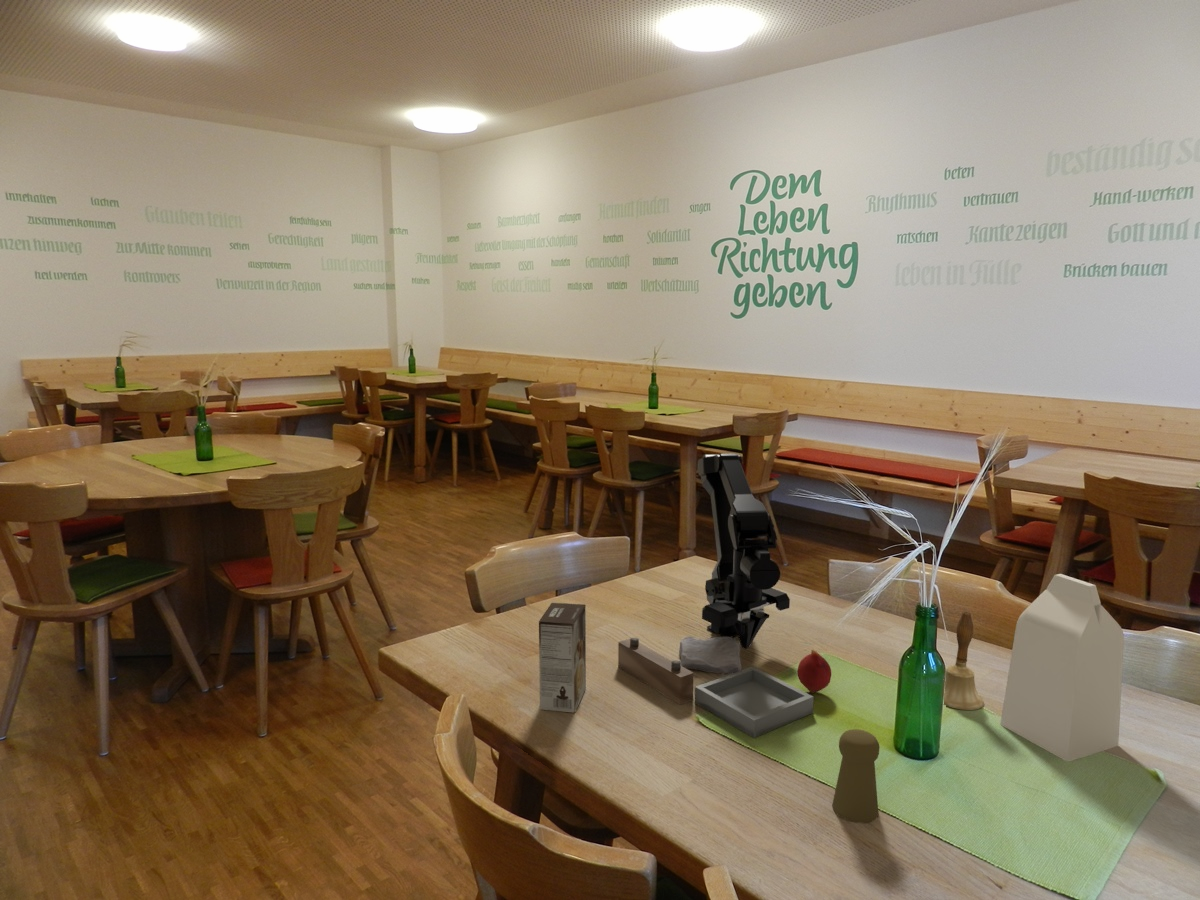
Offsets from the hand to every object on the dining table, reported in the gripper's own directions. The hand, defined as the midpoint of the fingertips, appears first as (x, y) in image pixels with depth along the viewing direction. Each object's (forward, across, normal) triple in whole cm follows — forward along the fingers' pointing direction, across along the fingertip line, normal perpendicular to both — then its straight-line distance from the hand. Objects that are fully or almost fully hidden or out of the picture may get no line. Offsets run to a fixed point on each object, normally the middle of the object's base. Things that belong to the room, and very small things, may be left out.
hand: (745, 648), depth 157 cm
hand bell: (+2, -18, +34) cm, 38 cm away
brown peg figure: (+2, +23, +44) cm, 50 cm away
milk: (+2, -20, +50) cm, 54 cm away
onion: (+2, +1, +18) cm, 18 cm away
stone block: (+2, +8, -1) cm, 8 cm away
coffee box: (+2, +39, -5) cm, 39 cm away
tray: (+2, +14, +16) cm, 21 cm away
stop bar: (+2, +22, -1) cm, 22 cm away
